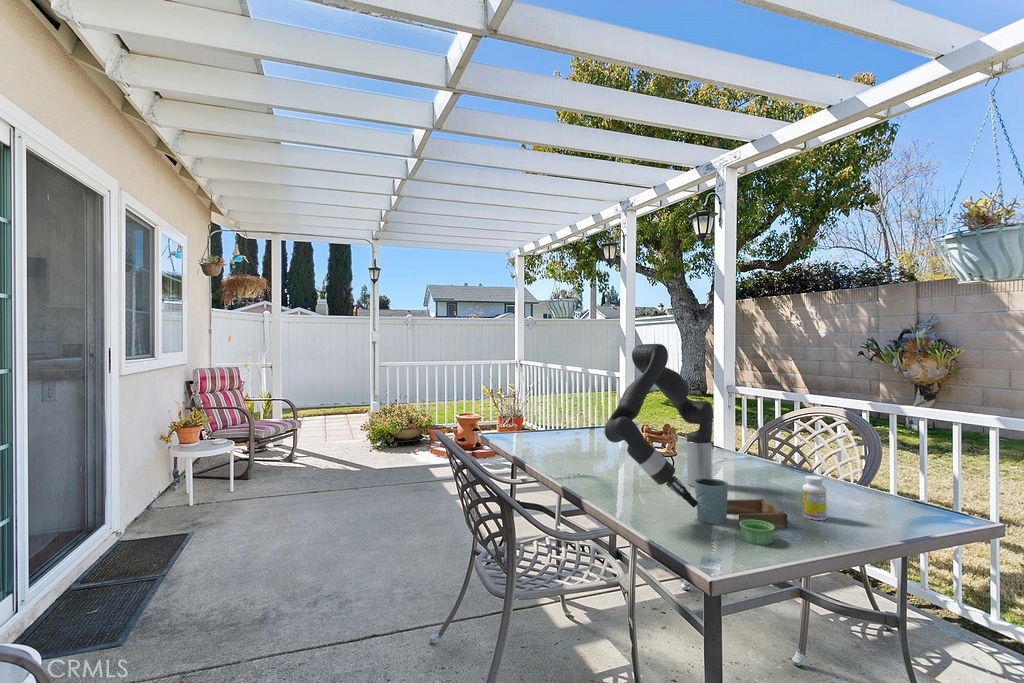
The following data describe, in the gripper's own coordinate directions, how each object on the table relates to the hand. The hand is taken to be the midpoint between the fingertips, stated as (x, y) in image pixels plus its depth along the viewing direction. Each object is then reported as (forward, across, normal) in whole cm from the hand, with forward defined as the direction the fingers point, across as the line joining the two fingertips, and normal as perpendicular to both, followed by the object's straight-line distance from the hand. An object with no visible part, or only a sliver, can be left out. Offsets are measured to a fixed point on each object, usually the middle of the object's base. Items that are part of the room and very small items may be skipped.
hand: (695, 504), depth 161 cm
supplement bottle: (+30, +1, -24) cm, 39 cm away
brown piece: (+16, 0, -9) cm, 18 cm away
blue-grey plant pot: (+7, 0, 0) cm, 7 cm away
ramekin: (+12, -17, -5) cm, 21 cm away
